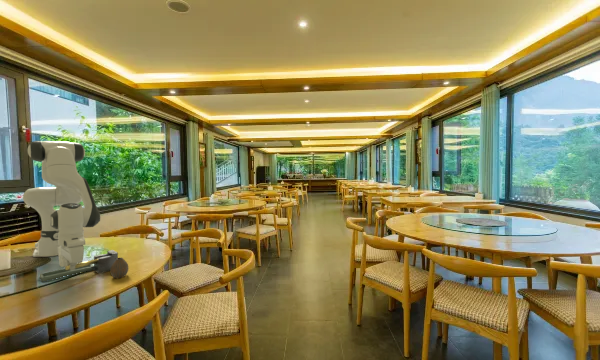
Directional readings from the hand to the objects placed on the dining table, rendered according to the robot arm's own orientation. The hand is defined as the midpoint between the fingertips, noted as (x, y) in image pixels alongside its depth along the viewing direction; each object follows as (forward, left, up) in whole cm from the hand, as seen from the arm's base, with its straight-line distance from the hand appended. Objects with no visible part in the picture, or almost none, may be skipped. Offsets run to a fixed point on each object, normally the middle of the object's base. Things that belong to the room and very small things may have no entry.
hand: (71, 268), depth 120 cm
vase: (+15, +14, -4) cm, 21 cm away
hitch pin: (0, +5, 0) cm, 5 cm away
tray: (-6, 0, -4) cm, 8 cm away
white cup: (-22, +3, -4) cm, 23 cm away
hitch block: (0, +13, -4) cm, 14 cm away
